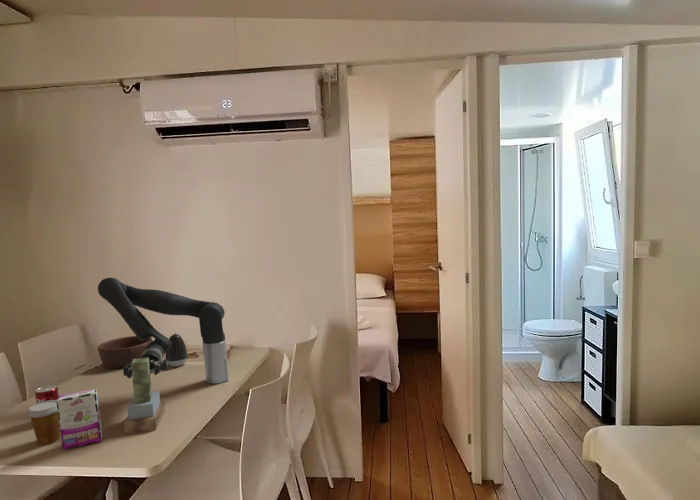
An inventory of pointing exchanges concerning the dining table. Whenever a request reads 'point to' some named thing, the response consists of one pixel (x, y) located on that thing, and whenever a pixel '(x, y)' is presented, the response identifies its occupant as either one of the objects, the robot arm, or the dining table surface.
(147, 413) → the blue gray tower block
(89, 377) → the dining table surface
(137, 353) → the wooden bowl
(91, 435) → the candy bar box
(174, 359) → the black egg shape
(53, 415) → the disposable coffee cup
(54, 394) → the soda can
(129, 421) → the tower base
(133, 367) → the olive block
